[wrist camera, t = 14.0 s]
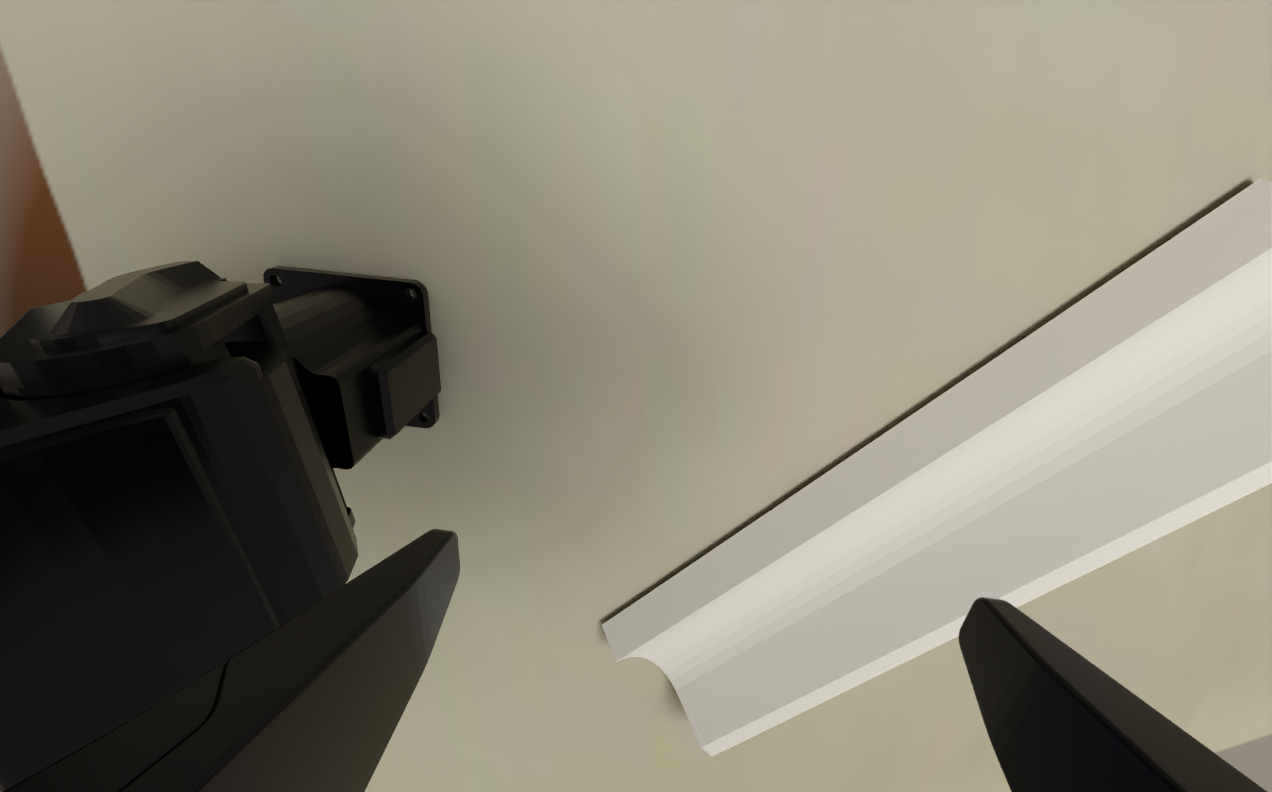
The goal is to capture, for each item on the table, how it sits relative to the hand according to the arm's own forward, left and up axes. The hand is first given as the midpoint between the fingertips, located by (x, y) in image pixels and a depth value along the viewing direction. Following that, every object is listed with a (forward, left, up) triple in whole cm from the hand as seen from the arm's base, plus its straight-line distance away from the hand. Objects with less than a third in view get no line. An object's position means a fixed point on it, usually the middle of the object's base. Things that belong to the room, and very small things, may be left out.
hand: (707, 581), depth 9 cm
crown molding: (+12, -8, -14) cm, 20 cm away
